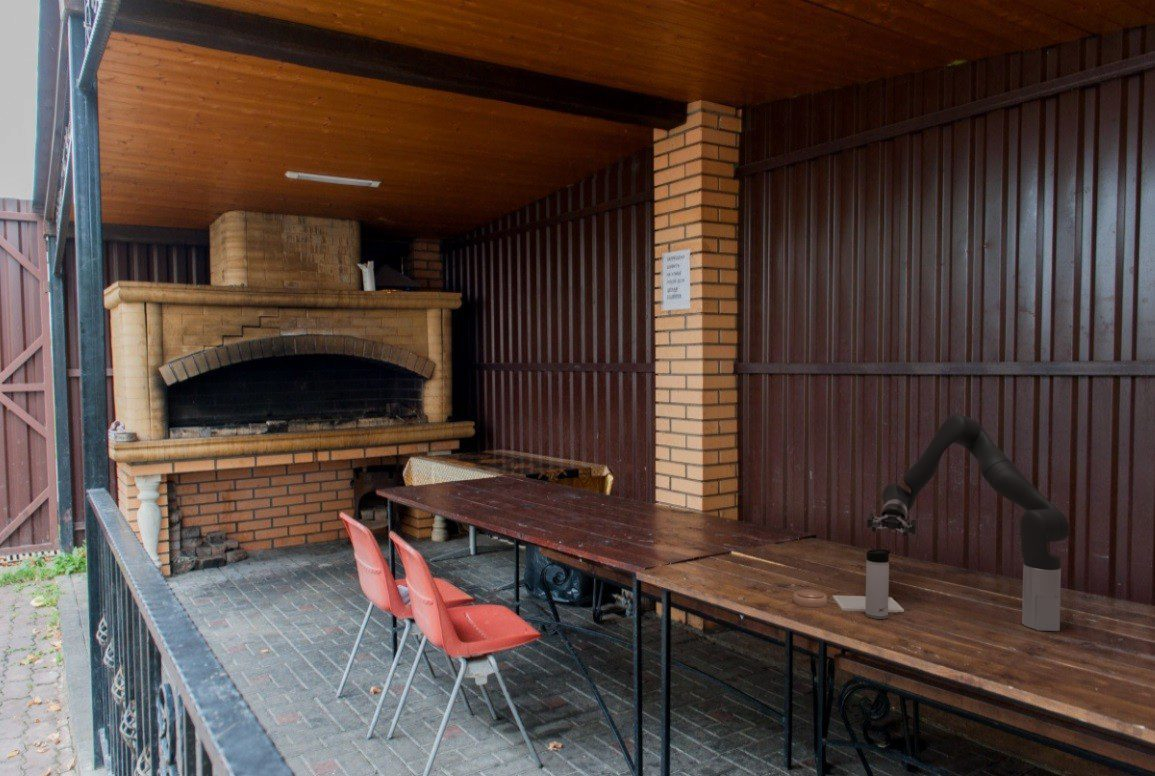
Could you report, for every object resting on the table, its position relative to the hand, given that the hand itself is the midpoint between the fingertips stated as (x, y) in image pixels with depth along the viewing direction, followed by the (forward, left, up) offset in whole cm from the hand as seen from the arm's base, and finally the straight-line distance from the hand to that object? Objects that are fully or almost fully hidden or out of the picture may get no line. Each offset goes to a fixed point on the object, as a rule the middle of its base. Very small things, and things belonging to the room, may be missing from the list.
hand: (889, 532), depth 246 cm
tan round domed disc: (+1, +23, -23) cm, 33 cm away
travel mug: (-11, +6, -23) cm, 26 cm away
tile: (0, +6, -23) cm, 24 cm away
